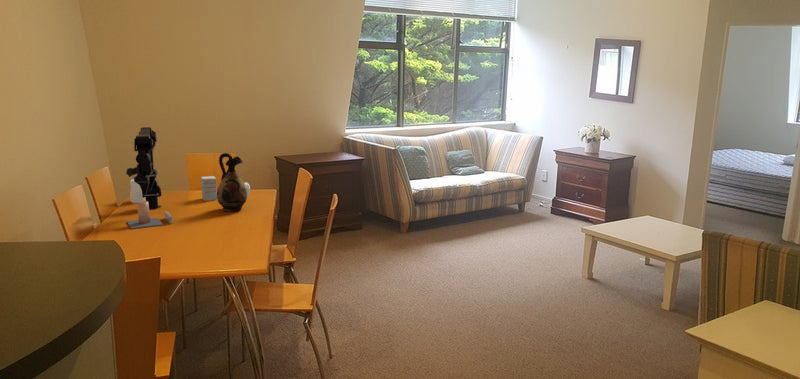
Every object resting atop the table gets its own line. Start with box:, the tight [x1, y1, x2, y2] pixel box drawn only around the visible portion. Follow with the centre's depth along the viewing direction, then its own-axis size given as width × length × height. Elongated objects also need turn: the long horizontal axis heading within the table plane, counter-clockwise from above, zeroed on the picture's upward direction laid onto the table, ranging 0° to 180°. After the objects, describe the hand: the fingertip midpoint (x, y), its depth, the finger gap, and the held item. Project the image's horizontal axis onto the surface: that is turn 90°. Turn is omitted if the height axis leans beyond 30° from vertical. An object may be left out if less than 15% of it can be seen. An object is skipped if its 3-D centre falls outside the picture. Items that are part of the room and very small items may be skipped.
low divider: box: [164, 210, 173, 225], centre depth 289 cm, size 12×1×4 cm, turn 32°
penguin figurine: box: [243, 182, 251, 198], centre depth 340 cm, size 6×8×12 cm
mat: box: [126, 217, 164, 230], centre depth 284 cm, size 14×14×1 cm
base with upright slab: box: [129, 178, 146, 204], centre depth 327 cm, size 9×9×12 cm
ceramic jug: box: [216, 152, 248, 213], centre depth 310 cm, size 17×15×30 cm
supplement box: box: [200, 175, 218, 202], centre depth 335 cm, size 7×7×13 cm
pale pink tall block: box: [136, 201, 151, 224], centre depth 282 cm, size 5×5×10 cm
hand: (147, 192), depth 293 cm, fingers open, 9 cm apart
